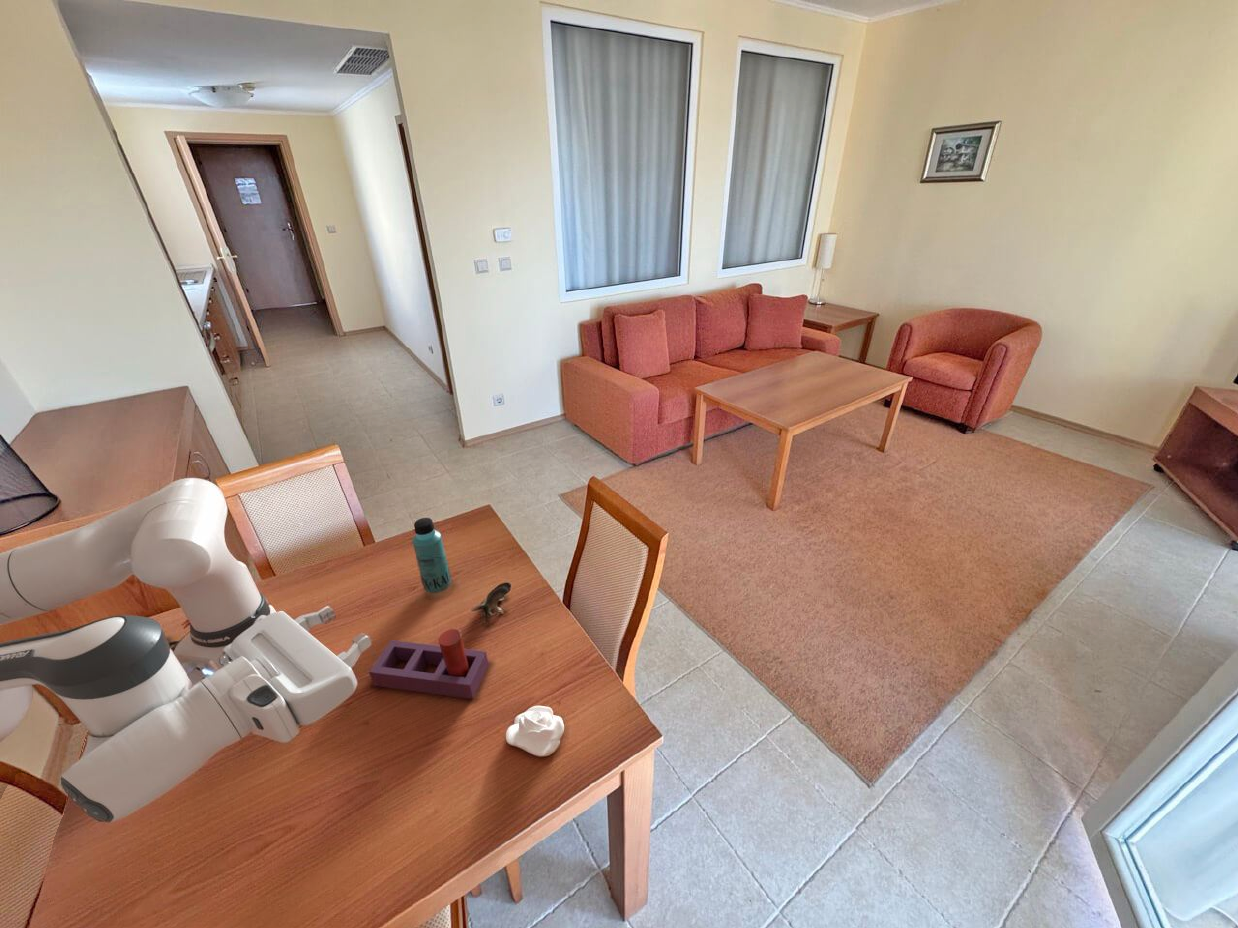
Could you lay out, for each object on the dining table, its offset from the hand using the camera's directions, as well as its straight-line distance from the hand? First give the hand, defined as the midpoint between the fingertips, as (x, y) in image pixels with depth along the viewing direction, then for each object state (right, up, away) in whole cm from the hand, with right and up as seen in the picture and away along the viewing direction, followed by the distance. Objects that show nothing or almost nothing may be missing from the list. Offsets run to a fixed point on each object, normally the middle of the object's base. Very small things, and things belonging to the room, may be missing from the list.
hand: (349, 624), depth 73 cm
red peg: (+9, -19, +24) cm, 32 cm away
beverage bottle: (-4, -7, +46) cm, 47 cm away
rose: (+25, -24, +14) cm, 38 cm away
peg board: (+3, -18, +25) cm, 31 cm away
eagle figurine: (+12, -10, +40) cm, 43 cm away
